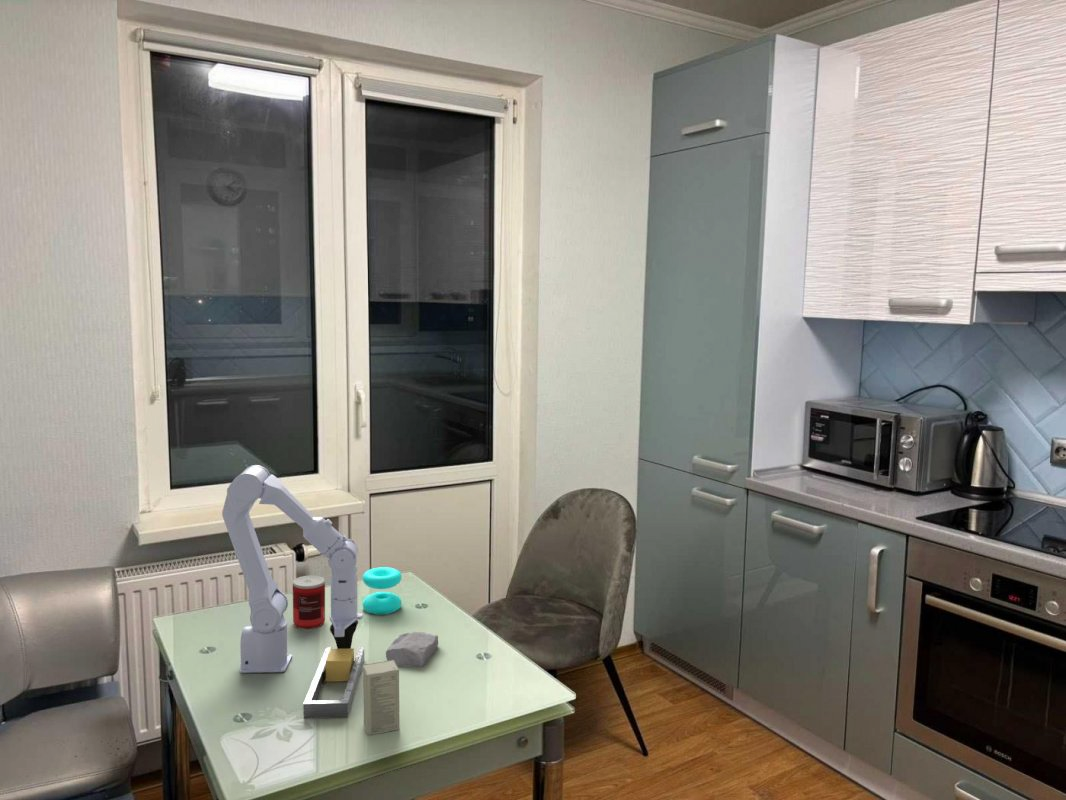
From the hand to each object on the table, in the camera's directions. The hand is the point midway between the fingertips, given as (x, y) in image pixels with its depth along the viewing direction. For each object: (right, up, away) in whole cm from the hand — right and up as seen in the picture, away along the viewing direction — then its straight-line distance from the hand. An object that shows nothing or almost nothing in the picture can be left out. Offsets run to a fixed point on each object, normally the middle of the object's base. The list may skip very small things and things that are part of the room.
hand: (344, 654), depth 177 cm
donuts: (+2, +2, +32) cm, 32 cm away
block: (0, -3, -6) cm, 6 cm away
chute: (+1, -3, -10) cm, 11 cm away
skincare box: (+13, -6, -26) cm, 30 cm away
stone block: (+14, -2, +6) cm, 15 cm away
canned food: (-14, +1, +22) cm, 26 cm away
